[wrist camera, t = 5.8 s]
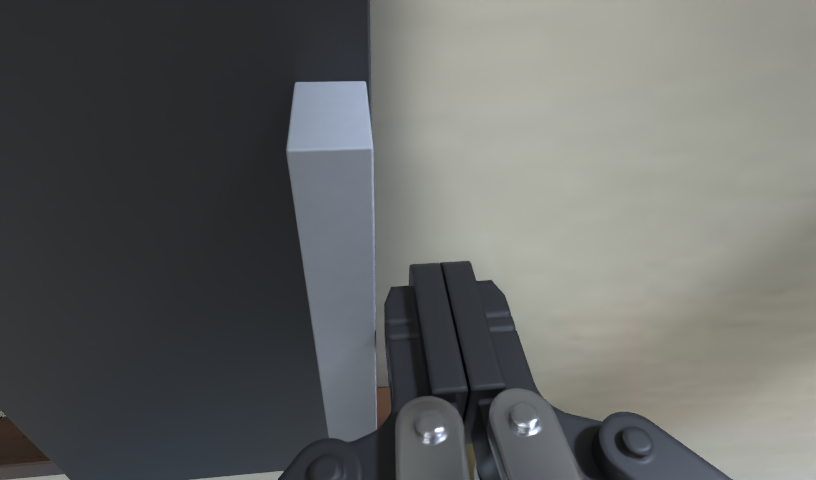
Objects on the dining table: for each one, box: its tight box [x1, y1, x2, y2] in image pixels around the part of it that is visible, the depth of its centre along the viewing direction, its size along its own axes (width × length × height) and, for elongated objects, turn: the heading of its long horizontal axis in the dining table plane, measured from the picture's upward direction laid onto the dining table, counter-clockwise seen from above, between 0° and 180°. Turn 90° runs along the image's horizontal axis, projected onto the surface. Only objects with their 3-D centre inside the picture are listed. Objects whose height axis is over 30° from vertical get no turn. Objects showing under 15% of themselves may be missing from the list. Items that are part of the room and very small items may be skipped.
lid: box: [0, 0, 377, 480], centre depth 12 cm, size 24×12×3 cm, turn 178°
